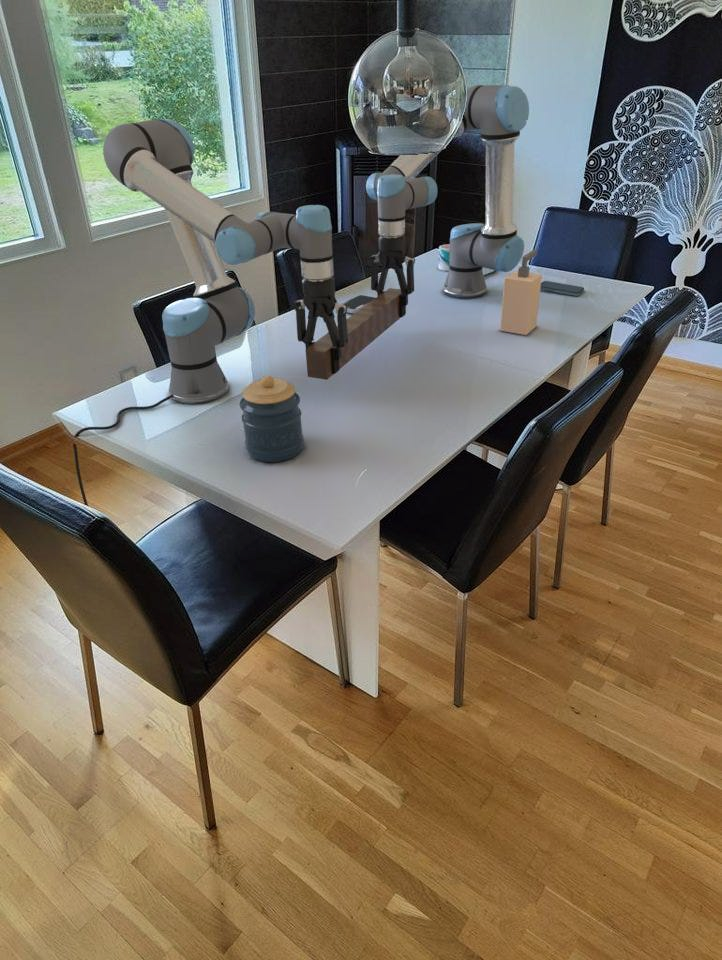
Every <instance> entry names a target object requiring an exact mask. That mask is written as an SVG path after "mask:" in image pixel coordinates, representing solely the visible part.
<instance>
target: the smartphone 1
mask: <svg viewBox="0 0 722 960" xmlns="http://www.w3.org/2000/svg"><path fill="white" fill-rule="evenodd" d="M375 298H376V297H374V296H368V295H363V294H360V295H357V296H355V297H353V298H350V299H348V300H347V301H346V300H345V301H344V302H343V303H340V304H341V305H344V304H346V305H347V306H348V308H347V312H346V314H355V313H356V312H357V311H359V310H360V309H361V308H363V307H364V306H366V305H367V304H368V303H370V302H371V301H372V300H374V299H375Z"/></svg>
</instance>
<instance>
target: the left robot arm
mask: <svg viewBox="0 0 722 960" xmlns="http://www.w3.org/2000/svg"><path fill="white" fill-rule="evenodd" d="M194 154H196V152H195V146H194V142H193V139H192V137H191V136H190V134H189V132H188V131H187V129H186V128H185V127H184V126H183V125H182V124H181V123H178V122H177V121H176V120H174V119H171V118H170V119H169V118H155V119H149V120H143V121H136V122H130V123H129V122H128V123H122V124H118V125H116V126H115V127H113V128H112V129H111V130H110V131H109V132H108V133H107V135H106V136H105V138H104V142H103V145H102V155H103V160H104V163H105V165H106V168H107V170H108V171H109V172H110V174H111V176H113V177H114V179H115V180H116V181H118V182H119V183H120V184H121V185H122V186H124V187H125V188H127V189H128V190H130V191H132V192H137V193H138V192H140V193H142V194H144V196H146V197H148V198H149V199H150V200H152V201H154V202H155V203H157V205H159V206H161V207H162V208H163V209H164V211H165V214H166V216H167V219H168V221H169V223H170V227H171V228H172V230H173V233H174V236H175V238H176V241H177V243H178V245H179V248H180V250H181V253H182V256H183V259H184V260H185V263H186V265H187V267H188V270H189V272H190V275H191V277H192V280H193V282H194V285H195V290H194V293H193V297H187V298H185V299H179V300H176V301H174V302H172V303H170V304H168V306H166V307H165V308H164V310H163V311H162V314H161V318H162V330H163V333H164V337H165V342H166V345H167V352H168V356H169V361H170V367H171V369H170V370H171V371H170V377H169V386H168V393H169V396H167V397H164V398H163V399H161V400H159V401H158V402H156V403H154V404H152V405H146V406H127V407H125V408H122V409H120V410H119V411H118V412H117V415H116V422H115V423H113V424H110V425H108V426H87V427H86V426H85V427H83V428H80V429H79V430H78V431H77V432H75V434H74V435H73V436H74V438H78V437H79V436H80V434H82V433H83V432H86V431H92V430H94V431H96V430H98V431H103V430H104V431H105V430H111V429H114V428H116V427H117V426H118V425H119V424H120V422H121V415H122V414H123V413H124V412H126V411H127V412H128V411H131V410H151V409H153V408H156V407H158V406H160V405H161V404H164V403H165V402H167V401H169V400H173V401H175V402H177V403H180V404H188V405H189V404H190V405H196V404H197V405H198V404H204V403H208V402H212V401H214V400H217V399H219V398H221V397H223V396H224V395H225V394H227V392H228V391H229V383H228V379H227V378H226V375H225V374H224V372H223V370H222V368H221V366H220V363H219V362H218V358H217V352H216V346H218V345H221V344H222V343H225V342H226V341H229V340H230V339H232V338H234V337H238V336H240V335H242V334H243V333H245V332H246V331H247V330H249V329H250V328H251V327H252V325H253V324H254V320H255V316H256V307H255V304H254V300H253V298H252V297H251V295H250V293H249V292H247V291H246V289H244V288H242V287H239V286H238V283H237V282H236V280H235V279H233V278H232V277H230V276H228V274H227V272H226V268H225V267H224V264H223V262H224V263H226V264H228V265H231V266H235V265H239V264H245V263H248V262H250V261H252V260H254V259H256V258H259V257H261V256H264V255H267V254H270V253H273V252H275V251H278V250H280V249H288V250H298V251H299V259H300V271H301V272H300V273H301V277H302V280H301V282H302V283H301V284H302V292H303V293H302V294H303V295H304V296H303V299H300V298H299V299H297V300H296V301H294V302H293V304H292V305H293V308H294V310H295V319H296V321H295V322H296V335H297V336H296V337H297V342H302V343H304V345H305V349H307V348H308V347H309V346H311V345H312V344H313V343H315V342H316V341H315V338H314V336H315V331H316V328H317V321H318V317H319V318H321V319H322V320H323V323H325V325H326V330H327V333H329V335H330V338H331V341H332V345H333V347H332V348H331V349H330V350H331V365H332V374H333V375H335V374H337V373H338V372H339V371H340V370H341V368H339V360H340V359H341V358H342V352H341V347H344V346H345V345H346V344H348V331H347V319H348V318H347V308H348V306H347V305H346V304H344V305H341V304H342V303H339V302H338V301H337V298H336V282H335V277H334V275H335V270H334V269H335V268H334V267H335V266H334V254H333V224H332V220H331V212H330V209H329V208H328V207H327V206H325V205H321V204H308V205H302V206H300V207H298V208H297V209H296V214H293V213H286V212H285V213H284V212H277V211H276V212H275V211H262V212H261V211H260V213H258V214H257V216H256V217H254V219H253V220H249V221H244V220H243V219H241V218H240V217H238V216H237V215H235V214H234V213H232V212H231V211H229V210H228V209H227V208H225V207H223V206H222V205H221V204H219V203H218V202H216V201H215V200H214V199H212V198H211V197H210V196H208V195H207V194H204V193H203V192H202V191H201V190H199V189H197V188H196V187H194V186H193V184H192V178H193V176H194V170H193V167H192V165H193V164H194V161H195V155H194ZM306 309H307V311H308V313H307V317H306ZM334 310H335V313H334ZM335 314H336V315H335ZM335 316H336V318H335ZM306 318H307V319H306ZM335 319H336V320H337V321H336V320H335ZM336 322H337V323H336ZM337 326H338V329H337ZM77 447H78V446H77V444H76V443H74V442H73V443H72V448H73V455H74V462H75V464H74V465H75V469H76V470H75V471H76V476H77V481H78V485H79V489H80V493H81V497H82V501H83V503H84V506H85V505H87V506H88V507H89V504H88V500H87V497H86V493H85V489H84V486H83V481H82V476H81V469H80V464H79V454H78V453H79V452H78V448H77Z"/></svg>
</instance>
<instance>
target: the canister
mask: <svg viewBox="0 0 722 960" xmlns="http://www.w3.org/2000/svg"><path fill="white" fill-rule="evenodd" d="M241 395H242V398H241V399H240V401H239V408H240V410H241V411H242V415H241V421H242V424H243V430H244V439H245V441H244V444H245V448H246V450H247V454H248V455H249V456H250V458H252V459H254V460H256V461H260V462H265V463H275V462H276V463H277V462H283V461H287V460H289V459H293V458H294V457H296V456H297V455H298V454H300V453H301V452H302V450H303V448H304V443H305V439H304V434H303V426H302V410H301V408H300V407H299V404H300V402H301V396H300V395H299V394H298V393H297V392H296V387H295V385H294V384H292V383H290V382H289V381H286V380H285V379H282V378H277V377H272V376H271V375H268V374H267V375H264V376H263V377H262V378H260V379H257V380H254V381H253V382H251V383H250V384H248V385H247V386H246V387H245V388H244V389H242V392H241Z"/></svg>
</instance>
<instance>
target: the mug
mask: <svg viewBox="0 0 722 960" xmlns="http://www.w3.org/2000/svg"><path fill="white" fill-rule="evenodd" d="M449 257H450V243H448V244H445V243H444V244H442V245H441V244H440V245H439V246H438V270H440V271H443V272H444V271H446V272H449Z"/></svg>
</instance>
